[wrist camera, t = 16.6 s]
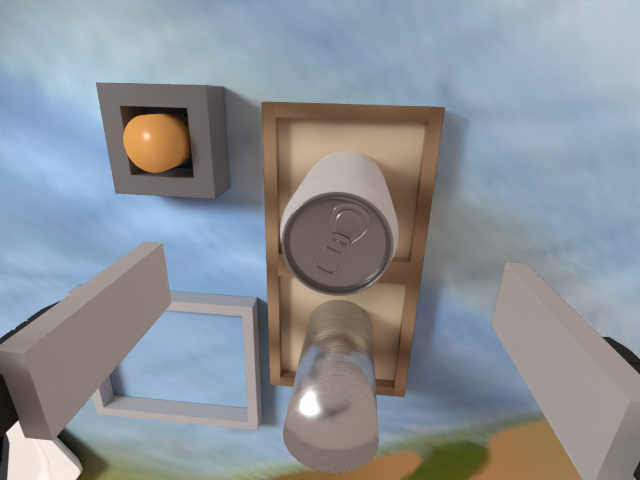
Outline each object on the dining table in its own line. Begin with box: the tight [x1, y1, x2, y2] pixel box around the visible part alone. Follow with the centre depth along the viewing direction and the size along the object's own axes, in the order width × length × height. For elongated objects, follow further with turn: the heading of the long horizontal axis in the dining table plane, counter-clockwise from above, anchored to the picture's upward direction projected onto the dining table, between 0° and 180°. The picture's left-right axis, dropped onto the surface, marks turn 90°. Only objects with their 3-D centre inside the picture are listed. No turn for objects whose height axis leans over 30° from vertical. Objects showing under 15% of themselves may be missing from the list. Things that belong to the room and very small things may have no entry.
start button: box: [123, 113, 192, 173], centre depth 28 cm, size 4×4×4 cm
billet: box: [283, 300, 379, 473], centre depth 29 cm, size 6×6×12 cm
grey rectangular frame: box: [66, 284, 262, 430], centre depth 38 cm, size 15×18×2 cm
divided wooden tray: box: [262, 102, 445, 397], centre depth 32 cm, size 26×13×2 cm, turn 179°
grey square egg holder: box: [96, 82, 230, 199], centre depth 29 cm, size 8×8×4 cm
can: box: [280, 151, 398, 296], centre depth 24 cm, size 6×6×12 cm
